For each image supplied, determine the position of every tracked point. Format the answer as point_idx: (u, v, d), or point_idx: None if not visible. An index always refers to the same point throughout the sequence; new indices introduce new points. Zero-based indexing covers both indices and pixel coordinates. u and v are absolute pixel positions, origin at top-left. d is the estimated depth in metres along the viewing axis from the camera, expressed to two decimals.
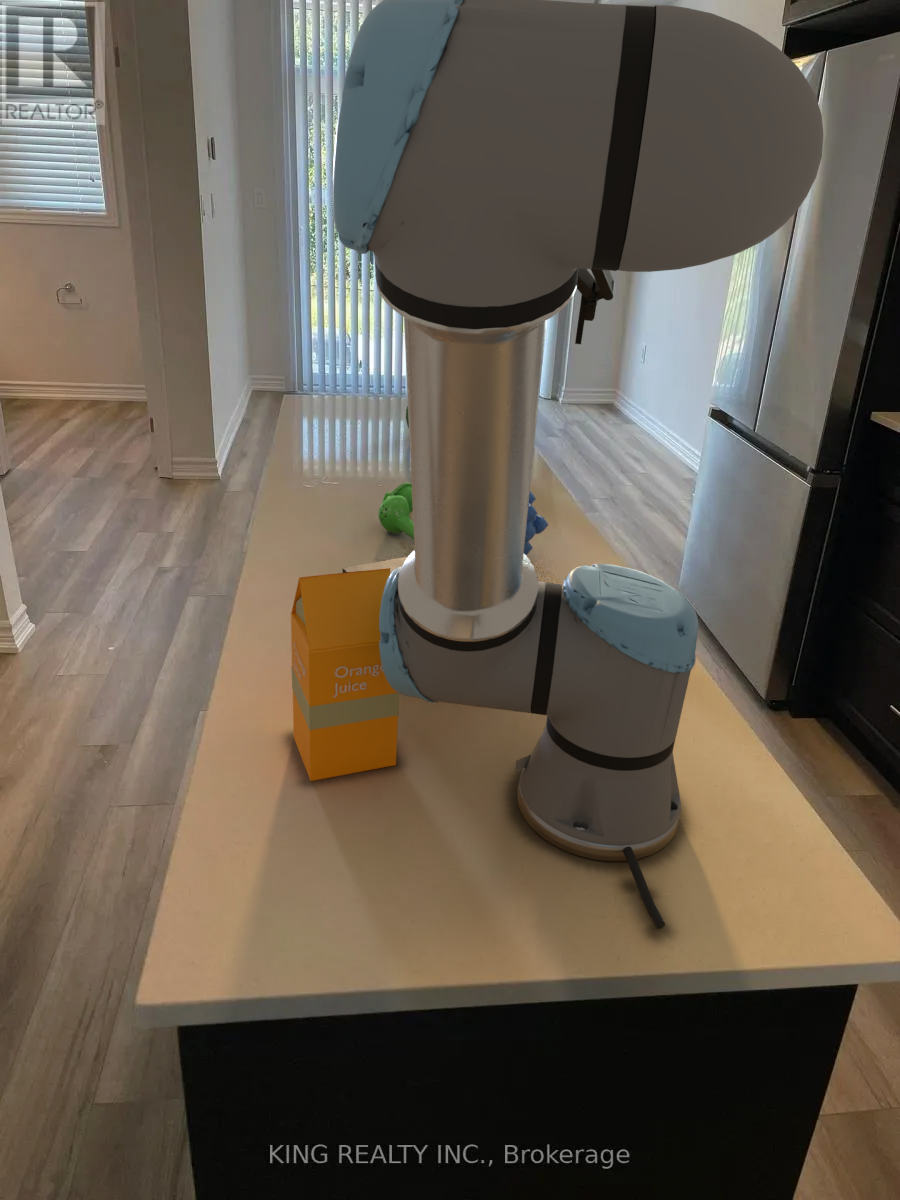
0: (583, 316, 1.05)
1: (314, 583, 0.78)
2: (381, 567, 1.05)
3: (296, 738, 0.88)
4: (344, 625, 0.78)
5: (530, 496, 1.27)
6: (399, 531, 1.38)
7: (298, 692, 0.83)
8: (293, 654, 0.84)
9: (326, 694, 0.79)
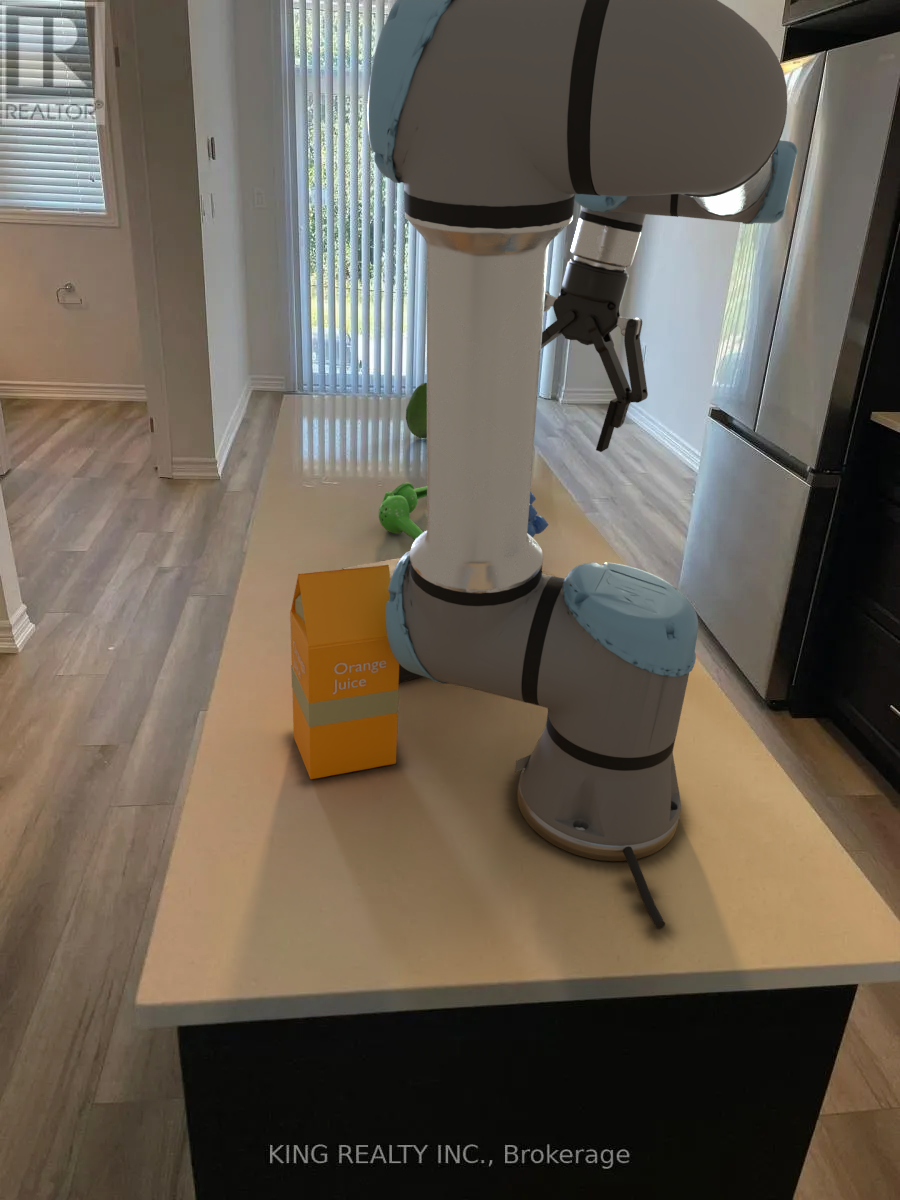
0: (610, 417, 1.07)
1: (313, 580, 0.78)
2: None
3: (296, 737, 0.88)
4: (343, 621, 0.78)
5: (530, 496, 1.27)
6: (399, 531, 1.38)
7: (298, 690, 0.84)
8: (293, 652, 0.84)
9: (326, 691, 0.79)
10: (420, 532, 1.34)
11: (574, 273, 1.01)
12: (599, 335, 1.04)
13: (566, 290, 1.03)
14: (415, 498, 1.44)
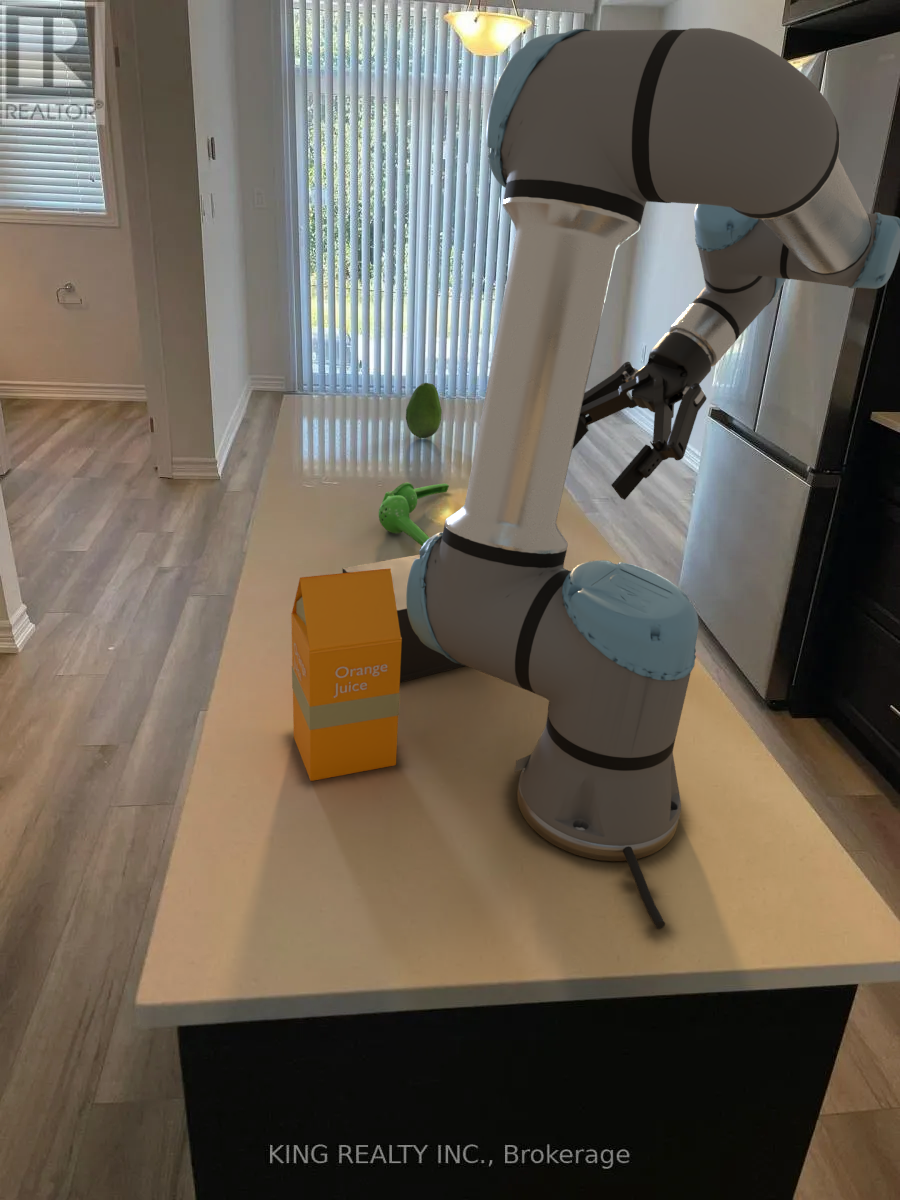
0: (638, 457, 1.04)
1: (315, 583, 0.78)
2: (381, 567, 1.05)
3: (296, 738, 0.88)
4: (344, 625, 0.78)
5: None
6: (399, 531, 1.38)
7: (298, 692, 0.83)
8: (293, 654, 0.84)
9: (326, 694, 0.79)
10: (420, 532, 1.34)
11: (663, 338, 1.09)
12: (662, 391, 1.07)
13: (650, 352, 1.10)
14: (415, 498, 1.44)
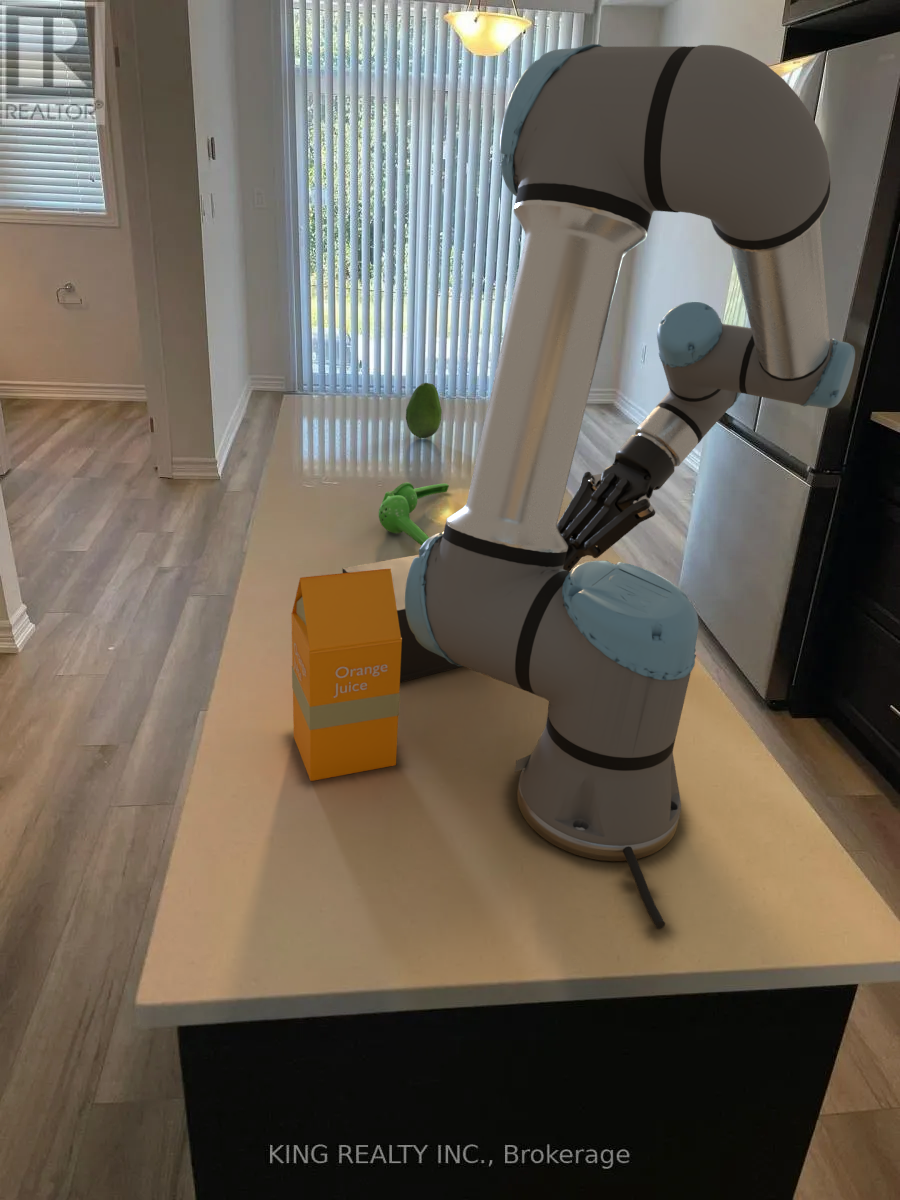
0: None
1: (315, 583, 0.78)
2: (381, 567, 1.05)
3: (296, 738, 0.88)
4: (344, 625, 0.78)
5: None
6: (399, 531, 1.38)
7: (298, 692, 0.83)
8: (293, 654, 0.84)
9: (327, 694, 0.79)
10: (420, 532, 1.34)
11: (628, 440, 1.13)
12: (616, 495, 1.12)
13: (616, 453, 1.14)
14: (415, 498, 1.44)
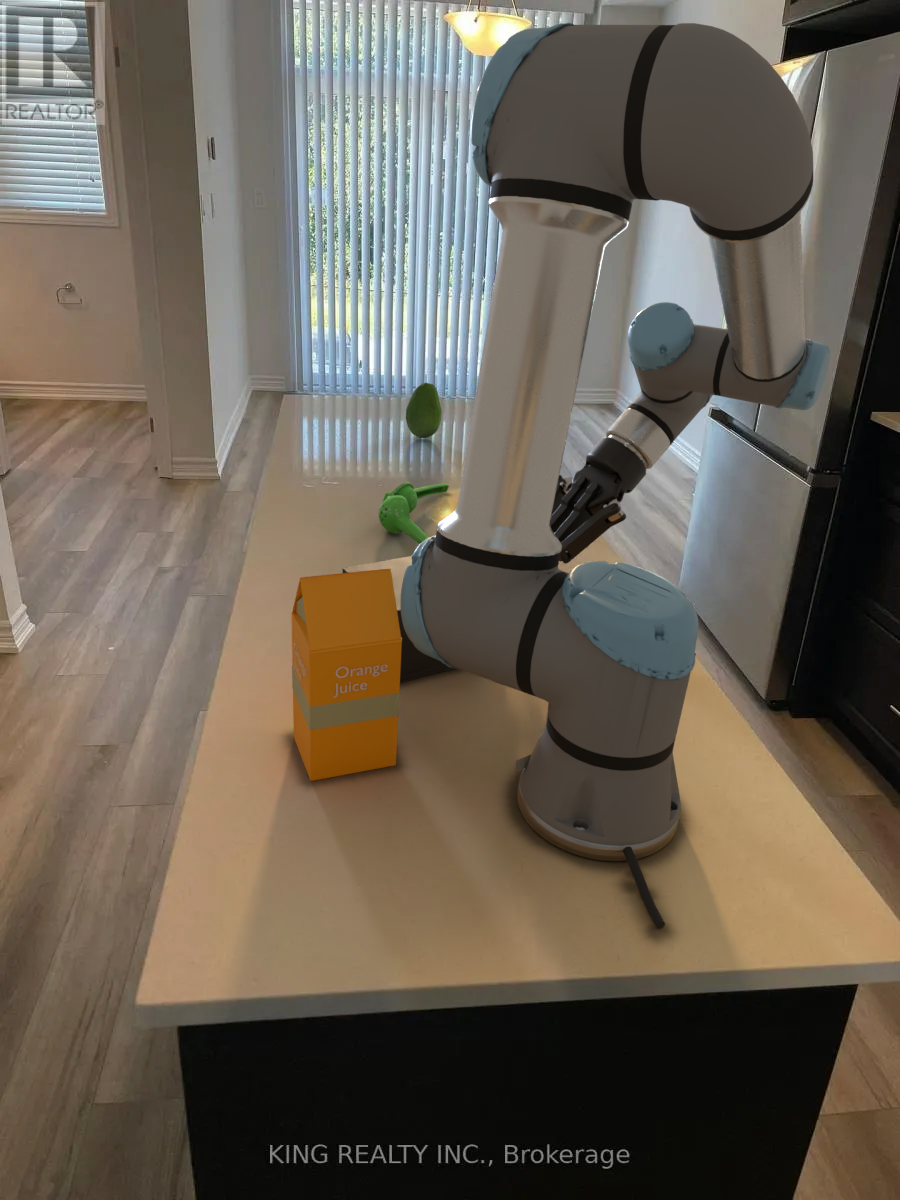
0: None
1: (315, 583, 0.78)
2: (381, 567, 1.05)
3: (296, 738, 0.88)
4: (344, 625, 0.78)
5: None
6: (399, 531, 1.38)
7: (298, 692, 0.83)
8: (293, 654, 0.84)
9: (327, 694, 0.79)
10: (420, 532, 1.34)
11: (598, 442, 1.11)
12: (586, 499, 1.09)
13: (587, 456, 1.12)
14: (415, 498, 1.44)
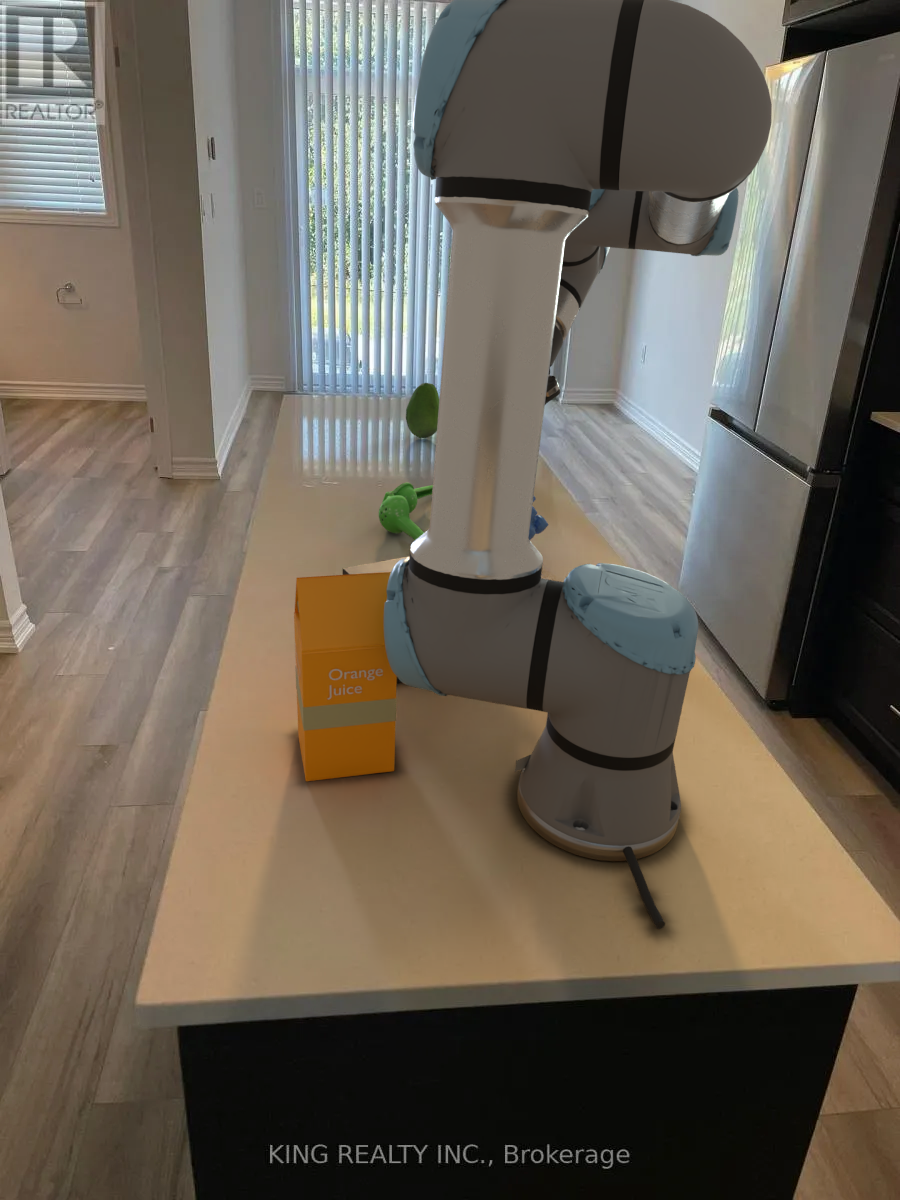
0: None
1: (311, 584, 0.78)
2: (381, 567, 1.05)
3: (299, 737, 0.88)
4: (339, 627, 0.78)
5: None
6: (399, 531, 1.38)
7: (298, 692, 0.84)
8: None
9: (320, 695, 0.79)
10: (420, 532, 1.34)
11: None
12: None
13: None
14: (415, 498, 1.44)
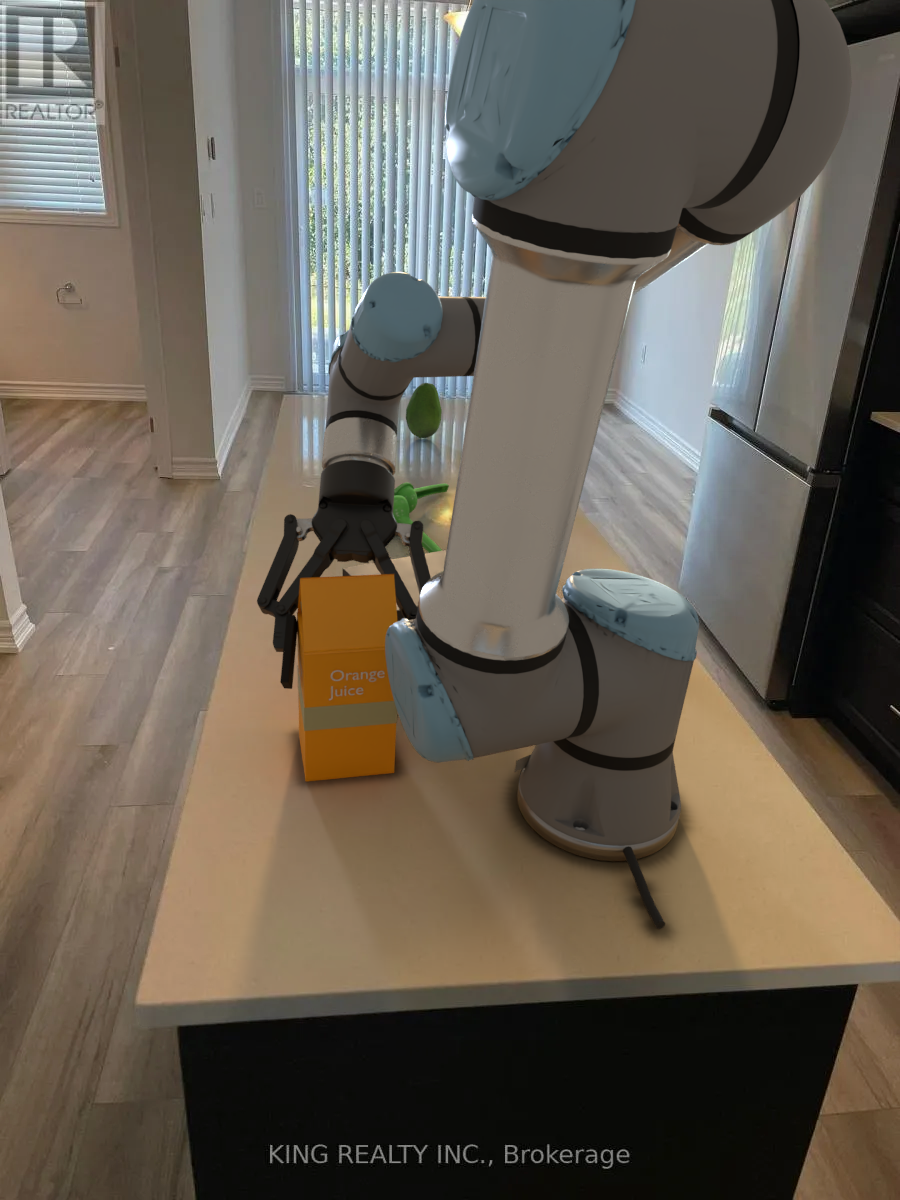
0: None
1: (315, 585, 0.77)
2: None
3: None
4: (341, 628, 0.78)
5: None
6: None
7: None
8: (298, 653, 0.84)
9: (322, 696, 0.79)
10: None
11: (339, 471, 0.84)
12: (379, 540, 0.84)
13: (331, 492, 0.84)
14: (415, 498, 1.44)
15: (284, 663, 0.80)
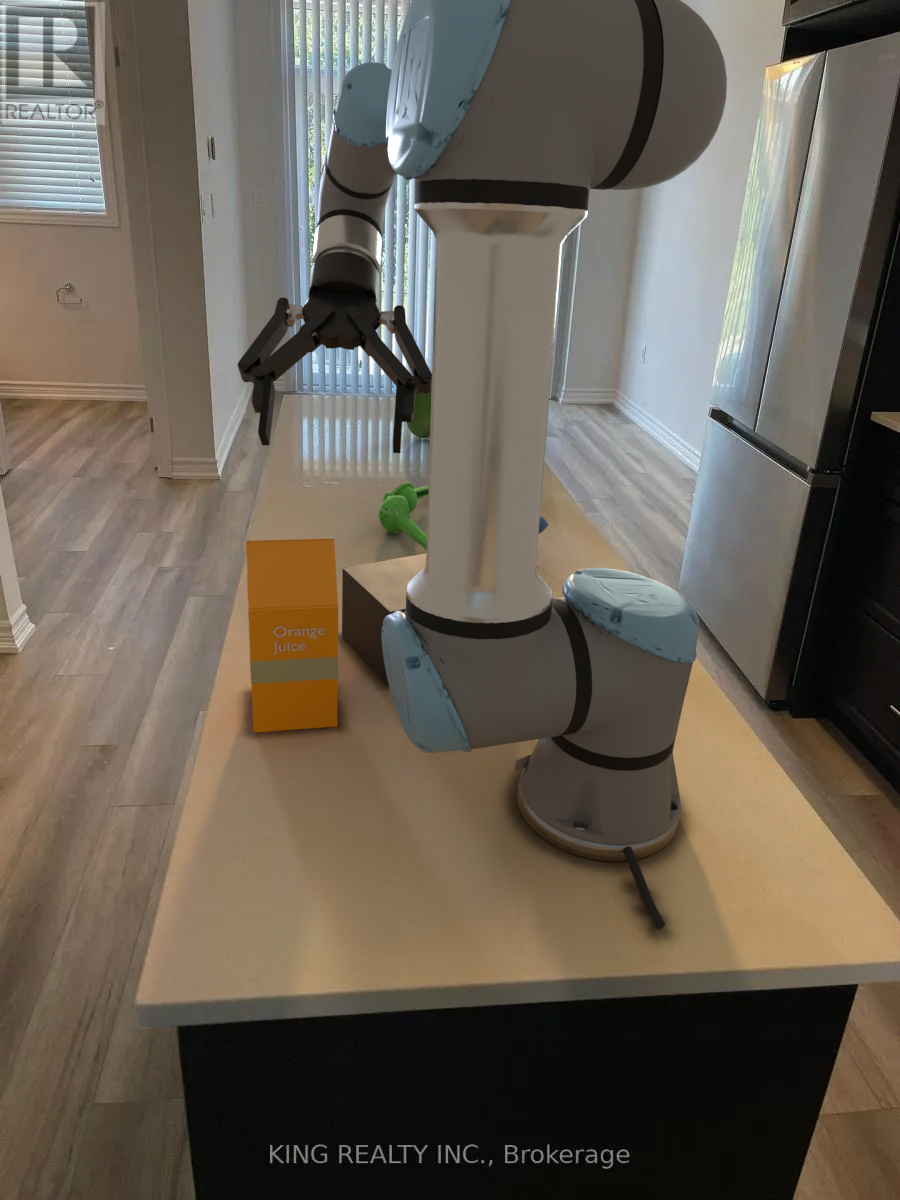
0: (400, 401, 0.89)
1: (260, 547, 0.84)
2: (381, 567, 1.05)
3: None
4: (284, 587, 0.84)
5: None
6: (399, 531, 1.38)
7: None
8: None
9: (266, 651, 0.85)
10: (420, 532, 1.34)
11: (327, 261, 0.91)
12: (367, 322, 0.91)
13: (320, 280, 0.91)
14: (415, 498, 1.44)
15: (261, 416, 0.87)
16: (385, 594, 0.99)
